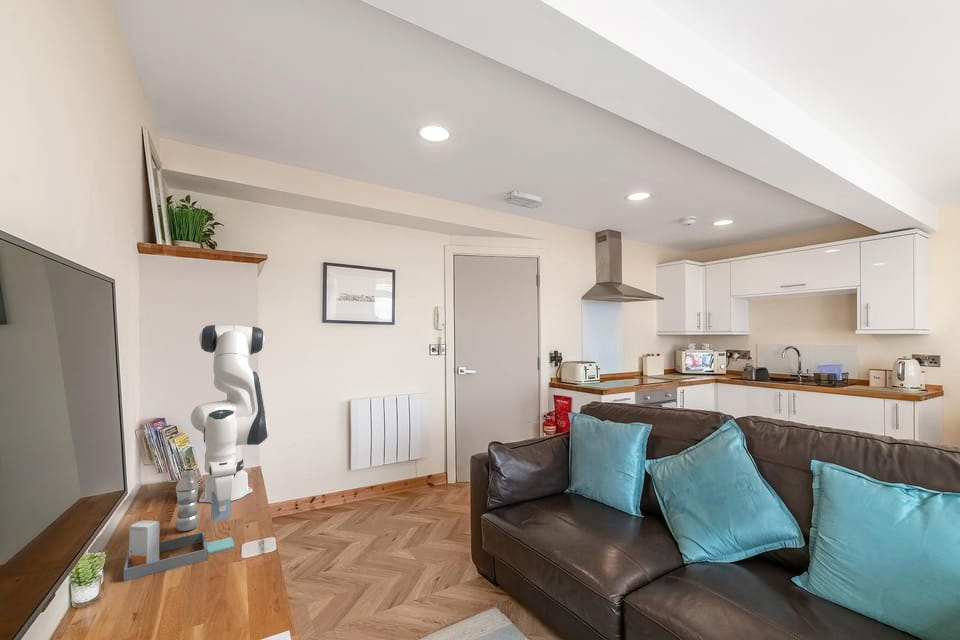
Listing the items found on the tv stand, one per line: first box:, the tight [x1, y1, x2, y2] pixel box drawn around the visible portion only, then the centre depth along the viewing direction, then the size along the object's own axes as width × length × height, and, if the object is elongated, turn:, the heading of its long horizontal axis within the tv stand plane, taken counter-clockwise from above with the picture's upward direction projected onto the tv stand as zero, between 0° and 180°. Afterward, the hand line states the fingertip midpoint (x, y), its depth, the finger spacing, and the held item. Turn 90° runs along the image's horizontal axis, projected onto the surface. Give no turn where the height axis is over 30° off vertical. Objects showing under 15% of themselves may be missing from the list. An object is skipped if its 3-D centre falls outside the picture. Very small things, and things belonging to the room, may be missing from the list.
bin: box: [123, 531, 208, 582], centre depth 131 cm, size 14×19×3 cm
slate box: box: [210, 491, 232, 523], centre depth 138 cm, size 4×5×8 cm
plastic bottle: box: [175, 468, 200, 532], centre depth 150 cm, size 6×7×20 cm
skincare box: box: [128, 519, 160, 568], centre depth 127 cm, size 6×4×12 cm
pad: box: [206, 536, 235, 555], centre depth 138 cm, size 7×7×1 cm
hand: (221, 507), depth 138 cm, fingers closed on slate box, 4 cm apart
